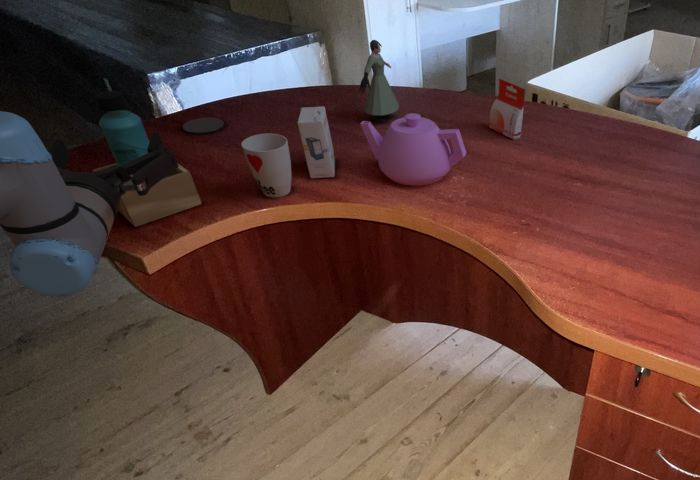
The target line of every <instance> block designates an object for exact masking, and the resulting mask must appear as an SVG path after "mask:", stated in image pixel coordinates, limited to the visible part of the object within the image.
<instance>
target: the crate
mask: <svg viewBox="0 0 700 480" xmlns="http://www.w3.org/2000/svg"><path fill="white" fill-rule="evenodd" d="M177 164H178V166H179V167H178V168H177V169H175V170H174V171H173V172H171V173H170V174H169V175H167V176H166V177H165V178H163V179H162V180H161V181H159V182H158V183H157V184H155V185H154V186H153V187H151V188H150V190H149V192H148V193H147V194H146V195H144V196H139V195H138V193H137V191H126V193H125V194H124V195H122V196H121V197H120V206H119V210H118V213H120V214H121V215H122V216H123V217H124V219H126V220H127V221H129V222H130V224H132V226H133V227H135V228H137V227H140V226H143V225H146V224H148V223H149V224H150V223H151V222H154V221H157V220H160V219H163V218H166V217H168V216H171V215H174V214H178V213H180V212H183V211H186V210H190V209H191V208H195V207H197V206H200V205H202V200H201V197H200V195H199V192H198V189H197V188H196V187H197V186H196V185H195V181H194V179H193V176H192V174H191V172H190V171H189V170H188V169H186V168H185V167H184V166H182V165H181V164H179V163H178V162H177ZM113 165H117V163H116V162H114V163H111V164H108V165H105V166H100V167H97V168H94V169H92V172H95V171H97V170H99V171H102V170H104V169H106V168H108V167H110V166H113ZM113 175H114V176H116V174H115V173H114V174H113ZM116 177H117V176H116Z"/></svg>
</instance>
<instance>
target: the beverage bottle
mask: <svg viewBox="0 0 700 480" xmlns="http://www.w3.org/2000/svg"><path fill="white" fill-rule="evenodd" d="M95 99H96V103H97V106H98V108H99V110H100V111H103V112H106V113H105V114H103V115H102V116H101V117H100V120H99V121H98V126H99V128H100V129H101V131H102V134H103V136H104V138H105V140H106V142H107V145H108V147H109V151H110V153H111V156H112V157H113V159H114V161H115V163H117V166H121V165H123V164H126V163H128V162H130V161H132V160H134V159H137V158H139V157H141V156H143V155H145V154H147V153H148V151H147V148H148V146H149V143H150V139H149V137H148V134H147V131H146V130H145V129H146V128H145V127H144V125H143V122H142V121H143V120H142V118H141V117H140V116H138V115H137V114H135V113H133V112H131V111H128V110H124V109H126V108H128V107H129V104H128V102H127V100H126V98H125V97H124V94H123V93H122V92H121V91H118V90H108V91H101V92H99V93H97V94H96V95H95Z"/></svg>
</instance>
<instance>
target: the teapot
mask: <svg viewBox="0 0 700 480" xmlns="http://www.w3.org/2000/svg"><path fill="white" fill-rule="evenodd" d="M359 124H360V127H361V129H362V131H363V134H364V136H365V139H366V141H367V142H368V146H369V147H370V149H371V152H372V154H373V156H374V158H375V160H377V161H378V167H379V169H380V171H381V172H382V173H383V174H384V175H385V176H386V177H388V179H390V180H391V181H392V182H395V183H396V184H399V185H404V186H413V187H418V186H419V187H420V186H421V187H422V186H428V185H432V184H435V183H437V182H439V181H441V180H442V179H443V178H444V177H445V176H446V175H447V174H448V173H449V171H450V170H452V167H453V166H455V165H456V164H457V163H459V162H460V161H461V160H463V159H464V158H465V157H466V155H467V150H466V147H465V144H464V141H463V138H462V135H461V134H462V133H461V131H460V129H459V128H452V129H451V128H447V129H440V127H439V126H438V125H437V124H436V123H435V122H434V121H433V120H431V119H429V118H426V117H421V114H418V113H416V112H415V113H414V112H410V113H407V114H405V115H404V117H399V118H398V119H395V120H394V121H392V122H391V123H390V125H389V126H388V128H387V130H386V131H385V134H384V136H382V135H381V134H380V132H379V131H378V130H377V129H376V127H374V125H373V123H372V122H371V121H368V120H362V121H361V122H360V123H359ZM449 139H450V143H451V147H452V151H451V147H450V145H449V143H448V140H449ZM443 176H444V177H443ZM441 177H442V178H441ZM439 178H440V179H439ZM437 179H438V180H437ZM434 180H435V181H434ZM430 181H431V182H430ZM425 182H426V183H425Z"/></svg>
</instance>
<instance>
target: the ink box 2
mask: <svg viewBox="0 0 700 480" xmlns="http://www.w3.org/2000/svg"><path fill="white" fill-rule="evenodd" d="M508 87H509V88H511V87H512V89H513V90H515V91H516V92H514V91H512V90H510V89H508ZM525 95H526V89H525V88H524V87H521V86H518V85H516V84H513V83H512V82H509V81H506V80H504V79H502V78H499V79H498V95H497V97H496V98H495V100H494V101H493V103H492V105H491V107H490V109H489V111H490V113H489V122H490V123H492V124H494V125H497V126H499V127H501V128H503V129H504V130H507V131H508V132H511V133H513V134H517V133H519V132H521V134H520V135H518V136H512V135H510V134H508V133H505V132H503V131H501V130H499V129H497V128H495V127H493V126H491V125H489V124H488V128H489V129H491V130H493V131H495V132H497V133H499V134H501V135H503V136H505V137H507V138H510V139H511V140H518V139H520V138H521V135H522V127H523V119H524V118H523V117H524V108H525Z"/></svg>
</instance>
